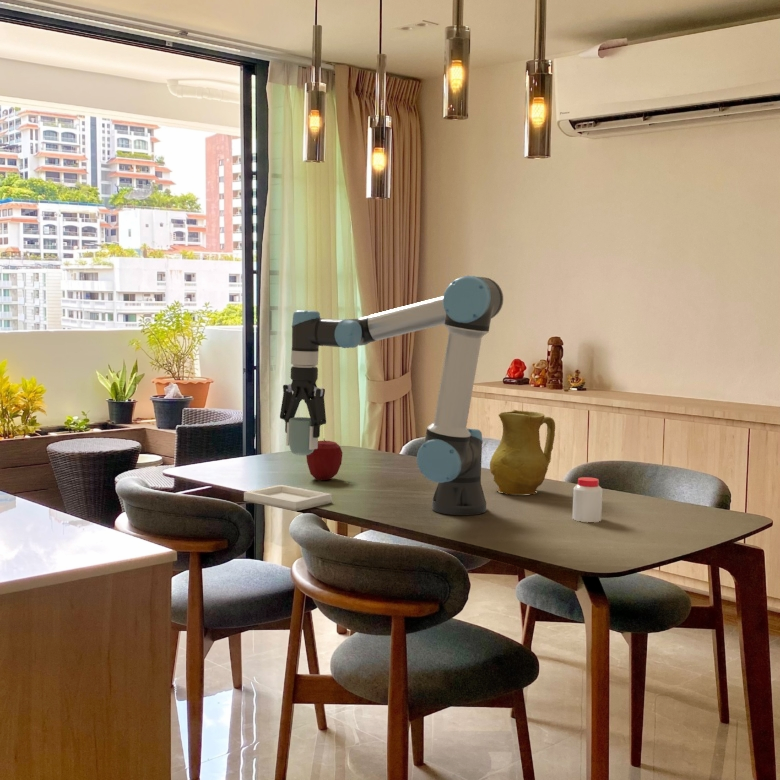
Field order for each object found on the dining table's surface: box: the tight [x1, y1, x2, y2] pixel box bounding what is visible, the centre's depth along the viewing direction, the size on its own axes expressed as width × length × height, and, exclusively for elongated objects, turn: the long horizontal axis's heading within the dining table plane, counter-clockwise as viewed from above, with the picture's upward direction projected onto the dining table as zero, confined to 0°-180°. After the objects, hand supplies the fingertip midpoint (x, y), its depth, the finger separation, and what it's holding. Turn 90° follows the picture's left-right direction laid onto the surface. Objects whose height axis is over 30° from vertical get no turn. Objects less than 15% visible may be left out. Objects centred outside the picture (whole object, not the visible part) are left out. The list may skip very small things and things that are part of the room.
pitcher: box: [489, 409, 556, 495], centre depth 298 cm, size 17×19×25 cm
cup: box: [288, 416, 314, 456], centre depth 274 cm, size 8×8×10 cm
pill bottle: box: [571, 476, 604, 523], centre depth 264 cm, size 8×8×11 cm
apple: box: [305, 439, 343, 481], centre depth 313 cm, size 12×12×13 cm
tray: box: [243, 484, 333, 512], centre depth 278 cm, size 20×15×2 cm
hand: (301, 446), depth 275 cm, fingers closed on cup, 8 cm apart
